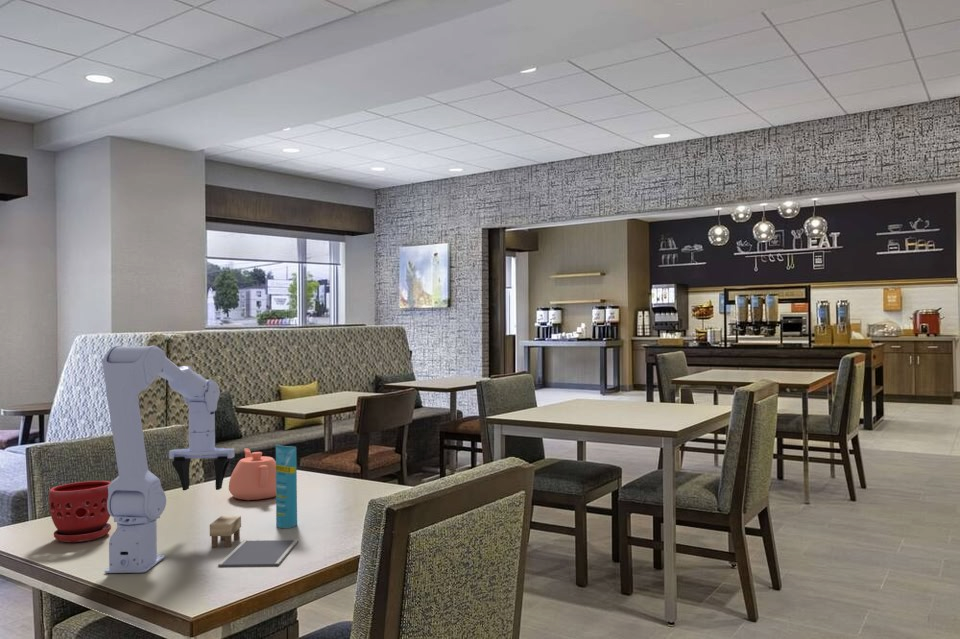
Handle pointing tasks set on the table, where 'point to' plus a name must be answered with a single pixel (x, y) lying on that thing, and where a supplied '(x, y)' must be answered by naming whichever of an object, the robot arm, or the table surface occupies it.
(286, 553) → the mat
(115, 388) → the robot arm
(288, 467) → the tube
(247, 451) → the teapot
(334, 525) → the table surface
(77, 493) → the plant pot
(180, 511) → the table surface
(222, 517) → the stool
